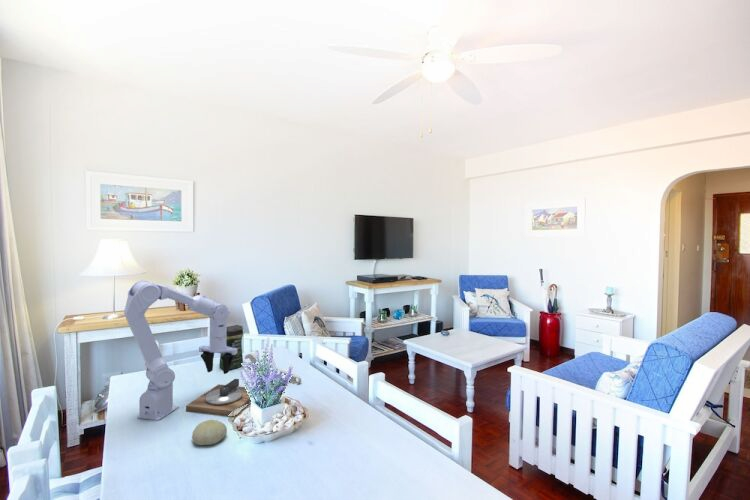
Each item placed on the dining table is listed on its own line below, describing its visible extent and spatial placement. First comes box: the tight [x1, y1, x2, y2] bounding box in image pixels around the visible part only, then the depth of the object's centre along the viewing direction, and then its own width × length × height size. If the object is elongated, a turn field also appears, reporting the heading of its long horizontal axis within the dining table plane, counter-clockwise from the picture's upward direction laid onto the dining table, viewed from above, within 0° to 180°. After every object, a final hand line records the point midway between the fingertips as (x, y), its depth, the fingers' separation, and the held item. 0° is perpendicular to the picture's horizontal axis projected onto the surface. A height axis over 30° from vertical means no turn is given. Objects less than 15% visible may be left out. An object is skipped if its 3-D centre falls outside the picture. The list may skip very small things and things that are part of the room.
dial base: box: [185, 383, 251, 417], centre depth 129 cm, size 18×18×2 cm
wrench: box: [244, 352, 302, 385], centre depth 153 cm, size 8×2×30 cm
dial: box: [206, 378, 242, 405], centre depth 129 cm, size 14×12×4 cm
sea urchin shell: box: [191, 419, 228, 446], centre depth 106 cm, size 9×8×8 cm
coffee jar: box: [219, 324, 244, 371], centre depth 163 cm, size 10×8×19 cm
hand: (218, 372), depth 135 cm, fingers open, 6 cm apart
